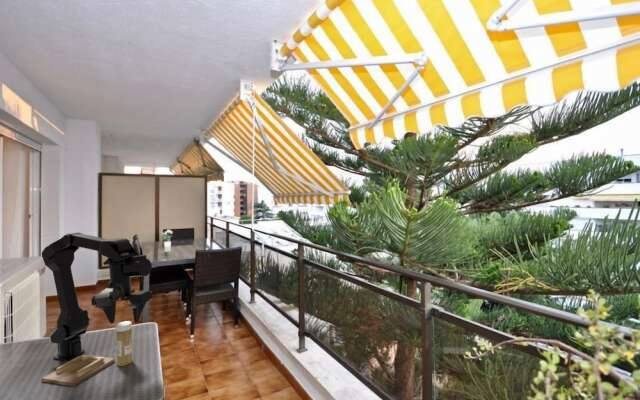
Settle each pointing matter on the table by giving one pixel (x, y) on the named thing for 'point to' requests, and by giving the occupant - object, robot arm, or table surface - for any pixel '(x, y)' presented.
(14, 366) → the table surface
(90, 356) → the bottle cradle
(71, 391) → the table surface
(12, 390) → the table surface
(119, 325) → the sprinkles bottle
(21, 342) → the table surface
